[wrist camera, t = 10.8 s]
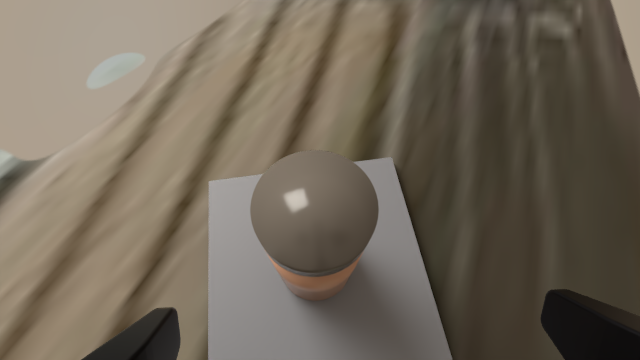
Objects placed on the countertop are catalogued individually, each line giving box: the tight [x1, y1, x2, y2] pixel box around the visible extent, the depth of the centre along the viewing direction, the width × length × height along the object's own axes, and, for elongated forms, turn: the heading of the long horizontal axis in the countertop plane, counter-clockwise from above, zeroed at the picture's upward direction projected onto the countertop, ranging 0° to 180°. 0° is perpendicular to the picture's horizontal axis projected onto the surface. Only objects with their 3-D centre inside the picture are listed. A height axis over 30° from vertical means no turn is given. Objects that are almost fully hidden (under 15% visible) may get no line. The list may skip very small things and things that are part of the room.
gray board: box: [208, 157, 452, 360], centre depth 21 cm, size 14×14×1 cm
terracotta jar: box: [250, 150, 379, 301], centre depth 16 cm, size 5×5×10 cm
